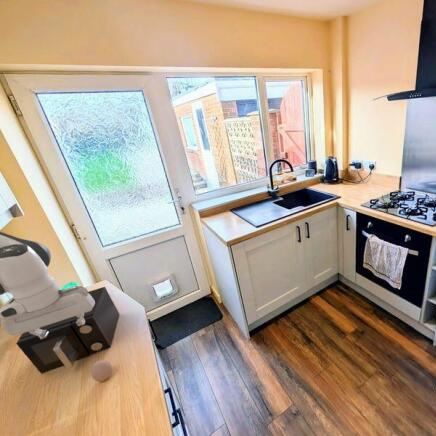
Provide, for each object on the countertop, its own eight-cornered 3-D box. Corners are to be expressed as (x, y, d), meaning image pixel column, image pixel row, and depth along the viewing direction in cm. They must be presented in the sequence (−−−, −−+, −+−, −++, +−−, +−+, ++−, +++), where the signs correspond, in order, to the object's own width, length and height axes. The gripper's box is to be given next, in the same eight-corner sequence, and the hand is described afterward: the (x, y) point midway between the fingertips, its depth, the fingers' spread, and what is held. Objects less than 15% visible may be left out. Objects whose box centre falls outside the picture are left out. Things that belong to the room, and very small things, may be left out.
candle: (79, 309, 109) (66, 288, 104) (68, 308, 110) (54, 287, 105) (91, 299, 114) (79, 278, 109) (80, 299, 115) (68, 278, 110)
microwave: (110, 349, 87) (91, 318, 81) (40, 375, 81) (14, 344, 75) (119, 314, 103) (104, 286, 97) (62, 334, 96) (41, 305, 90)
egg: (108, 384, 76) (99, 370, 73) (92, 386, 76) (82, 372, 73) (119, 368, 80) (110, 354, 77) (103, 369, 80) (94, 356, 78)
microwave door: (84, 370, 81) (62, 339, 75) (32, 390, 76) (4, 359, 70) (90, 352, 87) (71, 322, 81) (43, 369, 83) (18, 339, 76)
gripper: (86, 277, 77) (105, 310, 83) (1, 302, 70) (28, 336, 76) (79, 289, 71) (100, 323, 77) (-13, 317, 65) (17, 352, 71)
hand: (64, 330), depth 77 cm, fingers open, 8 cm apart
